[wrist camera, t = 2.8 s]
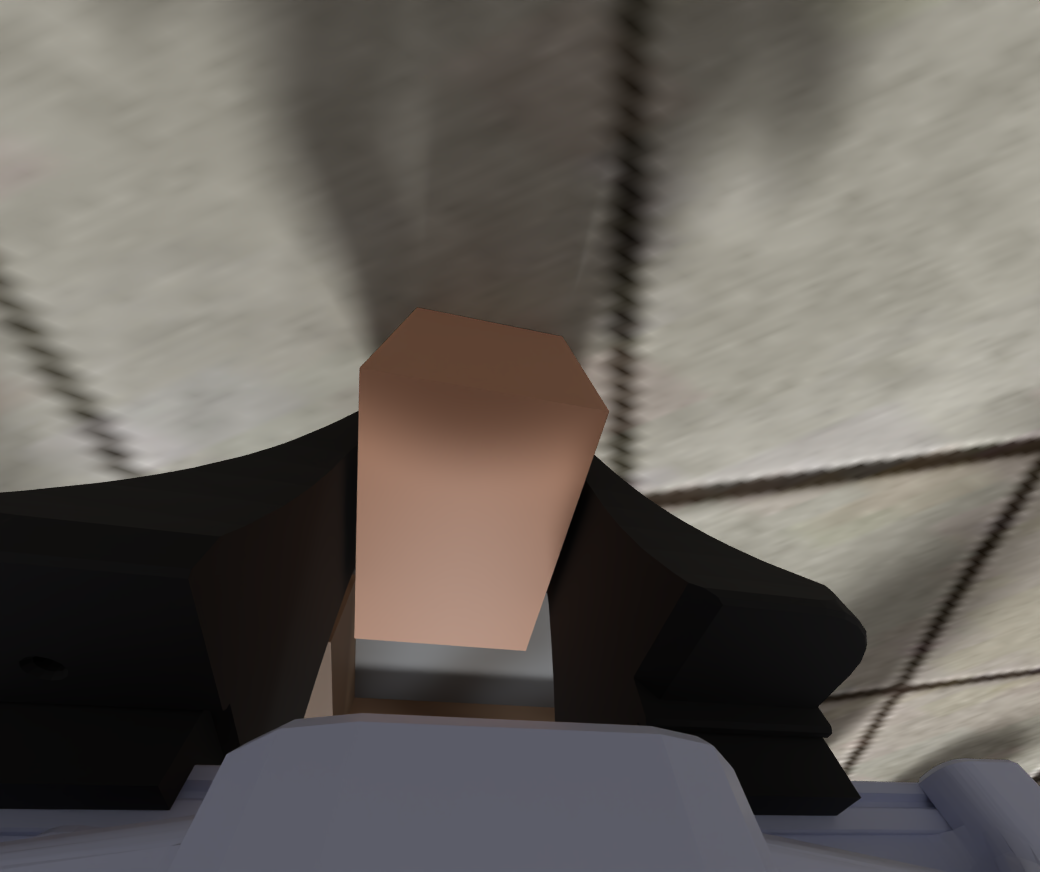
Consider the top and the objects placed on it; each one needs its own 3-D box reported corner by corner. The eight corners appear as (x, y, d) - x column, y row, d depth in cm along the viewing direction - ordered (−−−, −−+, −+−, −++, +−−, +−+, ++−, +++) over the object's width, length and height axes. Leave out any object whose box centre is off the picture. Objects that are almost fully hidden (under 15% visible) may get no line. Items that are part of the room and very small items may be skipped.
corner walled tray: (330, 701, 18) (303, 780, 16) (326, 563, 14) (288, 639, 12) (579, 713, 20) (592, 785, 18) (640, 594, 16) (669, 666, 13)
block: (400, 501, 13) (354, 638, 9) (417, 307, 10) (359, 368, 6) (515, 515, 14) (526, 650, 9) (562, 336, 11) (608, 411, 6)
